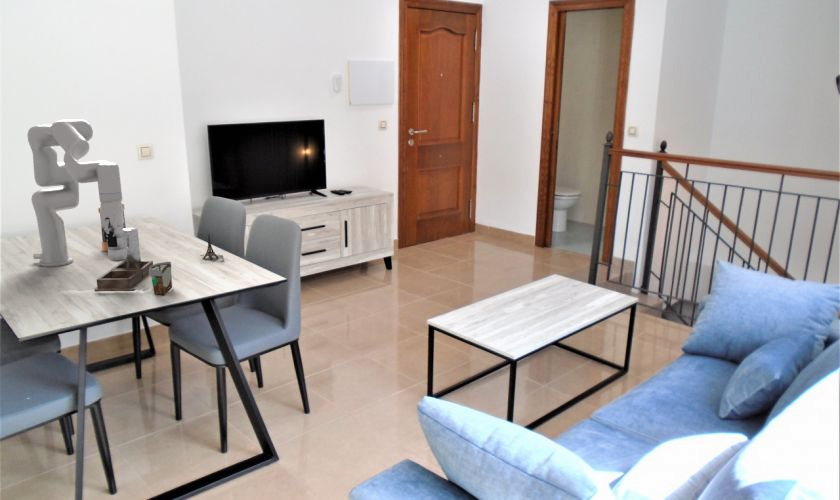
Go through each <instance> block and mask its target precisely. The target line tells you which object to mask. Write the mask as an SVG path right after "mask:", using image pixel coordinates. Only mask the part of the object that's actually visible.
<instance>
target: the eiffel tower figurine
mask: <svg viewBox="0 0 840 500" xmlns="http://www.w3.org/2000/svg"><path fill="white" fill-rule="evenodd" d="M210 234H211V233H210V232H208V233H207V237H208V238H207V248H206V252H205V254H201V255H199V257H201V256H202V257H203V258H202V259H201V260H202V261H209V262H212V261H215V260H220V261H219V263H224V262H225V259H224V255H223V254H216V253H215V252H214V250H213V247H212V243H211V242H212V241H211V236H210ZM204 255H205V256H204ZM207 256H208V257H207Z"/></svg>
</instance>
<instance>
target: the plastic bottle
mask: <svg viewBox="0 0 840 500" xmlns="http://www.w3.org/2000/svg"><path fill="white" fill-rule="evenodd" d="M109 228H112V226H110V227H109ZM110 231H112V232H113V230H110ZM115 236H117V245H118V246H117V247H108V251H107V257H108V260H109V261H111V262H119V263H120V262H122V261H123V260H125V259H126V258H127V251H126V248H125V244H124V240H123V221H122V219H121V218H119V220H118V224H117V228H115Z"/></svg>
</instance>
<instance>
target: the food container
mask: <svg viewBox="0 0 840 500" xmlns="http://www.w3.org/2000/svg"><path fill="white" fill-rule="evenodd" d="M171 262H172V261H163V262H158V263H157V262H156V263H153V265H151V266H150V268H149V274H150V275H149V276H150V278H151V283H152V289H153V294H154V295H155V296H160V297H165V296H166V295H167V294H168V293H169V292H170V290H172V289H173V280H172V263H171Z"/></svg>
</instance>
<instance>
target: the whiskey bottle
mask: <svg viewBox="0 0 840 500" xmlns="http://www.w3.org/2000/svg"><path fill="white" fill-rule="evenodd" d="M122 208H123V214H124V215H125V212H124V211H125V209H126V208H125V204H123V203H122ZM98 213H99V216H100V219H101V215H100V206H99V208H98ZM125 218H126V217H125V216H124V223H123V229H124V228H127V227H126V219H125ZM100 227H101V226H100ZM101 237H102V242H101V251H102V252H108V241H107V236H106V232H105V231H104V229H102V227H101Z"/></svg>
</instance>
